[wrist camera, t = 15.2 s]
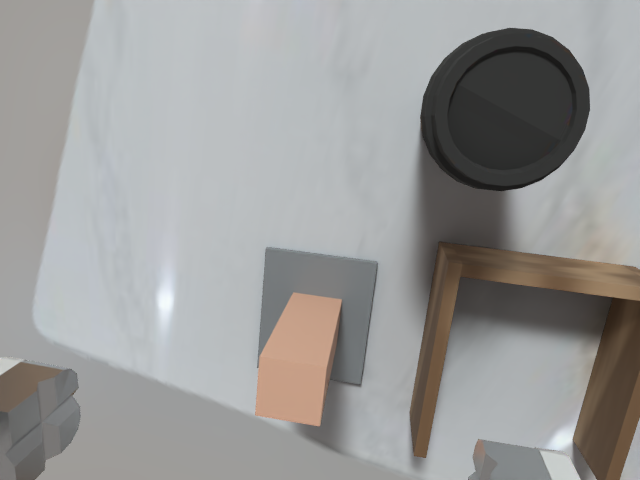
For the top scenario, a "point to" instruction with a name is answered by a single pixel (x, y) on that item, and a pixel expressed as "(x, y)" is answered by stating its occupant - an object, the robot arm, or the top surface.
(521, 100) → the coffee cup
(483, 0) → the top surface
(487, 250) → the walnut bay
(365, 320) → the slate coaster
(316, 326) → the terracotta block
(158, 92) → the top surface
